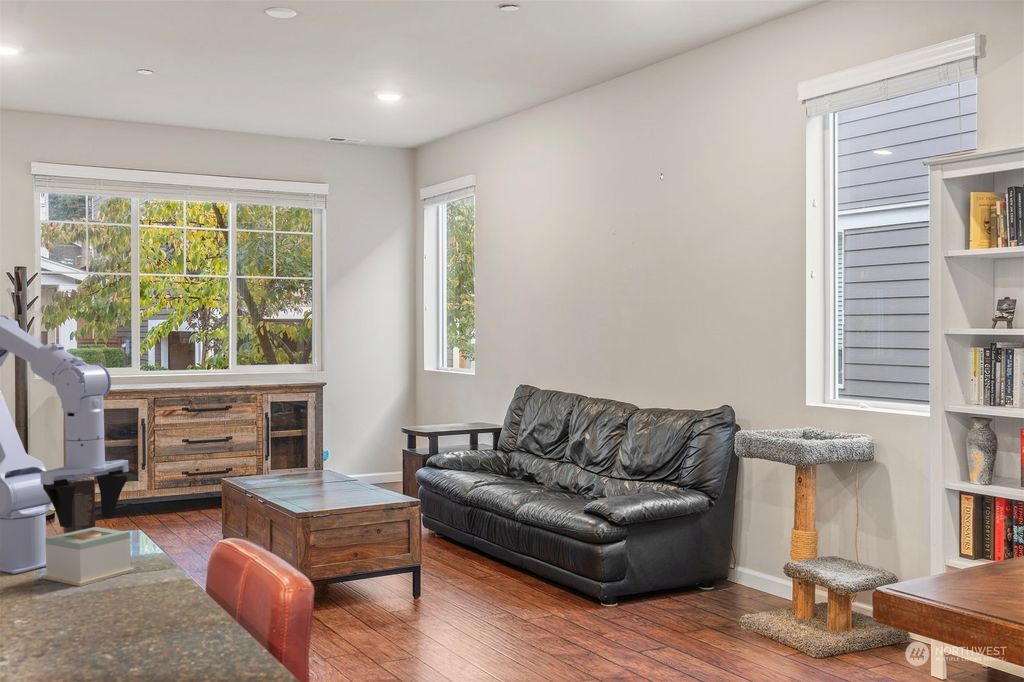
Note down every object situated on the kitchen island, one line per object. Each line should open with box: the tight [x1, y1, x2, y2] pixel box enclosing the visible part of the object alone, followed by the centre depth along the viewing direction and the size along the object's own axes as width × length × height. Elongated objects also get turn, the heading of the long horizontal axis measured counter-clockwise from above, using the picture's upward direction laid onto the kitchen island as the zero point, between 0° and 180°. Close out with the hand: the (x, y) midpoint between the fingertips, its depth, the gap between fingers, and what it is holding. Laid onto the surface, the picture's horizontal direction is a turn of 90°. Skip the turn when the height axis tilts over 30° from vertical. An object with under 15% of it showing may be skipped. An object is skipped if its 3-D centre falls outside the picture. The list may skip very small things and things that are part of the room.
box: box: [63, 477, 96, 534], centre depth 177 cm, size 6×4×12 cm
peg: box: [74, 532, 101, 540], centre depth 153 cm, size 4×4×6 cm
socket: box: [41, 526, 136, 587], centre depth 153 cm, size 10×10×6 cm
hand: (87, 522), depth 153 cm, fingers open, 7 cm apart
